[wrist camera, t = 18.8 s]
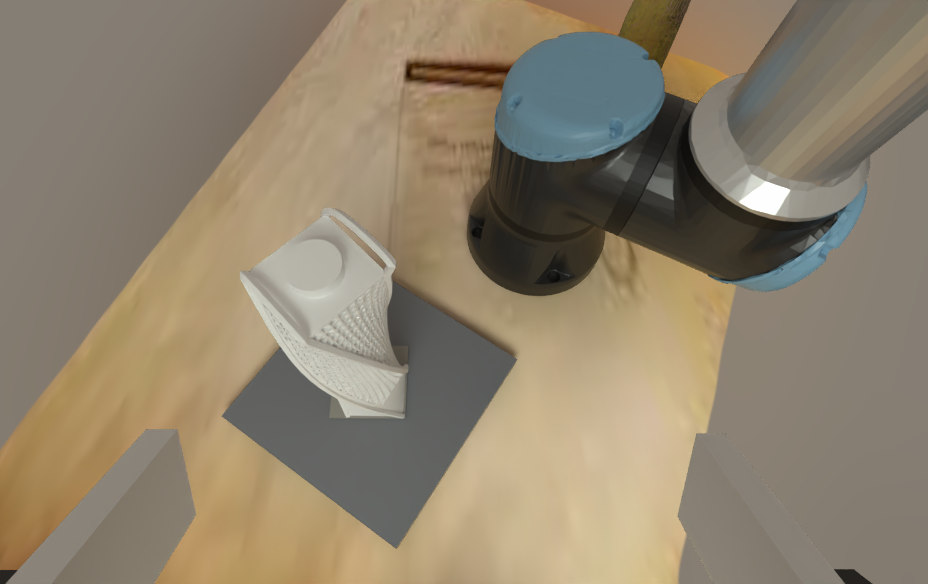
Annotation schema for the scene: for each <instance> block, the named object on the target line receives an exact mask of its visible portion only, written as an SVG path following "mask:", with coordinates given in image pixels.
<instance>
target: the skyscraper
mask: <svg viewBox="0 0 928 584" xmlns="http://www.w3.org/2000/svg"><path fill="white" fill-rule="evenodd" d="M330 216H334V217H335V218H337V219H338V220H340V221H341V222H342V223H343V224H345V225H346V226H347V227H348V228H350V229H351V230H352V231H353V232H354V233H355V234H356V235H358V236H359V237H360V238H361V239H362V240H363V241H364V242H365V243H366V244H367V245H368V246H369V247H370V248H371V249H372V250H373V251H374V252H375V253H376V254H377V255H378V256H379V257H380V258H381V259H382V260H383V261H384V262H385V263H386V267H385V269H384V270H383V269H382V268H381V267H380V266H379V265H378V264H377V263H376V262H375V261H374V260H373V259H372V258H371V257H370V256H369V255H368V254H367V253H366V252H365V251H364V250H363V249H362V248H361V247H360V246H359V245H357V244H356V243H355V242H354V241H353V240H352V239H351V238H350V237H349V236H348V235H347V234H346V233H345V232H344V231H343V230H342V229H341V228H340V227H339V226H338V225H337V224H336V223H335V222H334V221H333V220H332V219H331V218H330ZM395 268H396V260H395V259H394V257H393V256H392V255H391V254H390V253H389V252H388V251H387V250H386V249H385V248H384V246H383V245H381V244H380V243H379V242H378V241H377V240H376V239H375V238H374V237H373V236H372V235H371V234H370V233H369V232H368V231H367V230H365V229H364V228H363V227H362V226H361V225H360V224H358V223H357V222H356V221H355V220H354V219H352V218H351V217H350V216H348V215H347V214H346V213H344V212H342V211H341V210H338V209H335V208H328V207H327V208H324V209H323V210H322V213H321V217H320V218H319V219H318V220H317V221H315V222H314V223H313V224H311V225H310V226H309V227H307V228H306V229H305V230H303V231H302V232H301V233H299V234H298V235H296V236H295V237H294V238H292V239H291V240H290V241H288V242H287V243H286V244H284V245H283V246H282V247H280V248H279V249H278V250H276V251H275V252H274V253H272V254H271V255H270V256H268V257H267V258H266V259H264V260H263V261H262V262H260V263H259V264H258V265H256V266H255V267H254V268H252V269H251V270H250V271H240V279H241V281H242V283H243V285H244V286H245V288H246V290H247V292H248V294H249V296H250V297H251V299H252V301H253V303H254V304H255V306H256V308H257V310H258V311H259V313H260V315H261V317H262V318H263V320H264V322H265V324H266V325H267V327H268V329H269V330H270V332H271V333H272V335H273V336H274V338H275V339H276V341H277V343H278V344H279V346H280V347H281V348H282V350H283V351H284V352H285V354H286V355H287V357H288V358H289V359H290V360H291V362H292V363H293V364H294V365H295V366H296V367H297V369H298V370H299V371H300V372H301V373H302V374H303V375H304V376H305V377H307V378H308V379H309V380H310V381H311V382H312V383H314V384H315V385H316V386H317V387H319V388H320V389H321V390H323V391H325V392H326V393H328V394H329V395H331V404H330V413H329V418H350V419H405V415H406V393H407V373H408V348H409V347H408V346H391V342H390V338H389V332H388V323H387V307H388V305H389V302H390V299H391V295H392V284H393V282H392V273H393V272H394V270H395Z"/></svg>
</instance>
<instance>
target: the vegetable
mask: <svg viewBox="0 0 928 584" xmlns="http://www.w3.org/2000/svg"><path fill="white" fill-rule="evenodd" d="M690 1H691V0H634V2H633V3H632V5H631V7H630V9H629V11H628V13H627V15H626V17H625V20H624V23H623V25H622V28H621V30H620V33H619V37H622V38H625V39H628V40H630V41H632V42H634V43H636V44H638V45H639V46H641V47H642V48H644V49H645V50H646V51H647V52H648V53H649V57H648V60H655V61H656V62H657V63H658V65H659V66H660V69H661V68H662V66H663V63H664V61H665V59H666V57H667V55H668V52H669V50H670V48H671V45H672V43H673V41H674V39H675V36H676V34H677V32H678V30H679V27H680V25H681V23H682V20H683V17H684V15H685V13H686V11H687V9H688V6H689V3H690Z"/></svg>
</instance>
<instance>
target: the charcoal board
mask: <svg viewBox="0 0 928 584" xmlns="http://www.w3.org/2000/svg"><path fill="white" fill-rule="evenodd" d="M392 282H393V284H392V295H391V299H390V302H389V305H388V307H387V323H388V332H389V338H390V342H391V346H408V347H409V348H408V373H407V393H406V415H405V419H350V418H329V413H330V404H331V395H329V394H328V393H326V392H325V391H323V390H321V389H320V388H319V387H317V386H316V385H315V384H314V383H312V382H311V381H310V380H309V379H308V378H307V377H305V376H304V375H303V374H302V373H301V372H300V371H299V370H298V369H297V367H296V366H295V365H294V364H293V363H292V362H291V360H290V359H289V358H288V357H287V355H286V354H285V352H284V351H283V350H282V348H281V347H280V348H279V349H278V350H277V352H276V353H275V354H274V355H273V356H272V357H271V359H270V360H269V361H268V362H267V363H266V365H265V366H264V367H263V368H262V369H261V370H260V372H259V373H258V374H257V375H256V376H255V377H254V379H253V380H252V381H251V382H250V383H249V384H248V386H247V387H246V388H245V389H244V390H243V391H242V393H241V394H240V395H239V396H238V397H237V398H236V400H235V401H234V402H233V403H232V404H231V405H230V407H229V408H228V409H227V410H226V411H225V412H224V414H223V415H222V417H223V418H225V419H226V420H227V421H229V422H230V423H231V424H233V425H234V426H235V427H237V428H238V429H239V430H241V431H242V432H243V433H245V434H246V435H247V436H248V437H250V438H251V439H252V440H254V441H255V442H256V443H258V444H259V445H260V446H262V447H263V448H264V449H266V450H267V451H268V452H270V453H271V454H272V455H273V456H275V457H276V458H277V459H279V460H280V461H281V462H283V463H284V464H285V465H287V466H288V467H289V468H291V469H292V470H293V471H295V472H296V473H297V474H298V475H300V476H301V477H302V478H304V479H305V480H306V481H308V482H309V483H310V484H312V485H313V486H314V487H316V488H317V489H318V490H320V491H321V492H322V493H323V494H325V495H326V496H327V497H329V498H330V499H331V500H333V501H334V502H335V503H337V504H338V505H339V506H341V507H342V508H343V509H345V510H346V511H347V512H348V513H350V514H351V515H352V516H354V517H355V518H356V519H358V520H359V521H360V522H362V523H363V524H364V525H366V526H367V527H368V528H370V529H371V530H372V531H373V532H375V533H376V534H377V535H379V536H380V537H381V538H383V539H384V540H385V541H387V542H388V543H389V544H391V545H392V546H393V547H395V548H398V546H399V545H400V543H401V542H402V540H403V539H404V537H405V535H406V534H407V532H408V531H409V529H410V528H411V526H412V525H413V523H414V521H415V520H416V518H417V517H418V515H419V514H420V512H421V510H422V509H423V507H424V506H425V504H426V503H427V501H428V499H429V498H430V496H431V495H432V493H433V492H434V490H435V488H436V487H437V485H438V484H439V482H440V481H441V479H442V477H443V476H444V474H445V473H446V471H447V470H448V468H449V467H450V465H451V463H452V462H453V460H454V459H455V457H456V456H457V454H458V452H459V451H460V449H461V448H462V446H463V445H464V443H465V441H466V440H467V438H468V437H469V435H470V434H471V432H472V430H473V429H474V427H475V426H476V424H477V423H478V421H479V419H480V418H481V416H482V415H483V413H484V412H485V410H486V409H487V407H488V405H489V404H490V402H491V401H492V399H493V398H494V396H495V394H496V393H497V391H498V390H499V388H500V387H501V385H502V383H503V382H504V380H505V379H506V377H507V376H508V374H509V372H510V371H511V369H512V368H513V366H514V365H515V363H516V361H517V359H516V358H514V357H513V356H511V355H509V354H508V353H506V352H505V351H503V350H502V349H500V348H498V347H497V346H495V345H494V344H492V343H490V342H489V341H487V340H486V339H484V338H483V337H481V336H479V335H478V334H476V333H475V332H473V331H471V330H470V329H468V328H467V327H465V326H464V325H462V324H460V323H459V322H457V321H456V320H454V319H453V318H451V317H449V316H448V315H446V314H445V313H443V312H441V311H440V310H438V309H437V308H435V307H434V306H432V305H430V304H429V303H427V302H426V301H424V300H422V299H421V298H419V297H418V296H416V295H415V294H413V293H411V292H410V291H408V290H407V289H405V288H403V287H402V286H400V285H399V284H397V283H396V282H394V281H392Z"/></svg>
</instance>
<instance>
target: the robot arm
mask: <svg viewBox="0 0 928 584" xmlns="http://www.w3.org/2000/svg"><path fill="white" fill-rule="evenodd" d="M648 57H649V53H648V52H647V51H646V50H645V49H644V48H642V47H641V46H639V45H638V44H636V43H634V42H632V41H630V40H628V39H625V38H622V37H619V36H616V35H612V34H607V33H600V32H575V33H569V34H563V35H560V36H559V37H558V38H555V39H550V40H545V41H543V42H541V43H539V44H537V45H535V46H533V47H532V48H530V49H529V50H528V51H526V52H525V53H524V54H523V55H522V56H521V57H520V58H519V59H518V60H517V61H516V62H515V63H514V65H513V66H512V68H511V69H510V71H509V72H508V74H507V77H506V79H505V82H504V85H503V89H502V95H501V100H500V102H499V104H498V107H497V109H496V115H495V135H494V144H493V152H492V161H491V169H490V178H489V180H488V181H487V182H486V184H485V185H484V186H483V188H482V189H481V190H480V192H479V193H478V195H477V196H476V198H475V199H474V201H473V204H472V206H471V209H470V212H469V217H468V226H467V240H468V245H469V249H470V252H471V254H472V257H473V259H474V260H475V262H476V264H477V265H478V267H479V268H480V269H481V270H482V271H483V273H484V274H485V275H486V276H488V277H489V278H490V279H491V280H492V281H494V282H495V283H497V284H498V285H500V286H502V287H504V288H506V289H508V290H510V291H513V292H516V293H520V294H524V295H532V296H546V295H553V294H557V293H560V292H563V291H566V290H568V289H570V288H572V287H574V286H576V285H577V284H578V283H580V282H581V281H582V280H583V279H584V278H585V277H586V276H587V275H588V274H589V273H590V272H591V270H592V269H593V267H594V265H595V264H596V262H597V260H598V258H599V256H600V254H601V252H602V249H603V245H604V240H605V231H608V232H610V233H613V234H615V235H617V236H619V237H622V238H624V239H626V240H629V241H631V242H633V243H636V244H638V245H640V246H643V247H645V248H648V249H650V250H652V251H655V252H657V253H659V254H662V255H664V256H666V257H669V258H671V259H674V260H676V261H678V262H680V263H683V264H685V265H687V266H689V267H692V268H694V269H696V270H698V271H701V272H703V273H705V274H707V275H708V276H709V277H711V278H713V279H715V280H717V281H720V282H722V283H726V284H728V283H732V284H734V285H737V286H740V287H743V288H745V289H748V290H752V291H759V292H767V291H774V290H779V289H782V288H785V287H788V286H790V285H792V284H794V283H796V282H798V281H800V280H802V279H803V278H805V277H806V276H808V275H809V274H811V273H812V272H813V271H815V270H816V269H817V268H818V267H819V266H820V265H822V264H823V263H824V262H825V261H826V256H827V254H828V252H829V251H830V250H831V249H833V248H835V249H836V248H838V247H839V246H840V245H841V244H842V242H843V241H844V240H845V239H846V237H847V236H848V234H849V233H850V232H851V230H852V229H853V227H854V225H855V223H856V221H857V220H858V218H859V216H860V214H861V211H862V209H863V206H864V203H865V198H866V194H867V181H866V180H867V178H868V174H869V169H870V155H871V154H872V153H873V152H875V151H876V150H877V149H878V148H880V147H881V146H882V145H884V144H885V143H886V142H887V141H889V140H890V139H891V138H892V137H894V136H895V135H896V134H898V133H899V132H900V131H901V130H903V129H904V128H905V127H906V126H908V125H909V124H910V123H911V122H913V121H914V120H915V119H916V118H918V117H919V116H920V115H921V114H923V113H924V112H925V111H927V110H928V0H797V1H796V3H795V4H794V5H793V7H792V8H791V10H790V11H789V13H788V14H787V15H786V17H785V18H784V20H783V21H782V23H781V24H780V26H779V27H778V28H777V30H776V31H775V33H774V34H773V35H772V37H771V38H770V40H769V41H768V43H767V44H766V45H765V47H764V49H763V50H762V51H761V53H760V54H759V55H758V57H757V58H756V60H755V61H754V63H753V64H752V65H751V67H750V68H749V70H748V71H747V73H743V74H739V75H735V76H732V77H729V78H727V79H725V80H723V81H721V82H719V83H717V84H716V85H714V86H713V87H712V88H710V89H709V90H708V91H707V92H706V94H705V95H704V96H703V97H702V98H701V99H700V101H699V102H698V103H697V104H696V103H693V102H691V101H688V100H685V99H682V98H680V97H677V96H674V95H672V94H669V93H666V92H664V77H663V74H662V71H661V69H660V66H659V65H658V63H657V62H656V61H655V60H648ZM195 516H196V511H195V507H194V502H193V498H192V493H191V489H190V484H189V480H188V475H187V470H186V466H185V461H184V457H183V452H182V448H181V443H180V439H179V434H178V430H177V429H146V430H145V431H144V432H143V433H142V435H141V436H140V437H139V438H138V439H137V440H136V441H135V442H134V443H133V444H132V446H131V447H130V448H129V449H128V450H127V451H126V452H125V453H124V454H123V455H122V456H121V458H120V459H119V460H118V461H117V462H116V463H115V464H114V465H113V466H112V467H111V469H110V470H109V471H108V472H107V473H106V474H105V475H104V476H103V477H102V478H101V480H100V481H99V482H98V483H97V484H96V485H95V486H94V487H93V488H92V489H91V491H90V492H89V493H88V494H87V495H86V496H85V497H84V498H83V499H82V500H81V501H80V503H79V504H78V505H77V506H76V507H75V508H74V509H73V510H72V511H71V512H70V514H69V515H68V516H67V517H66V518H65V519H64V520H63V521H62V522H61V523H60V525H59V526H58V527H57V528H56V529H55V530H54V531H53V532H52V533H51V534H50V536H49V537H48V538H47V539H46V540H45V541H44V542H43V543H42V544H41V545H40V546H39V548H38V549H37V550H36V551H35V552H34V553H33V554H32V555H31V556H30V557H29V559H28V560H27V561H26V562H25V563H24V564H23V565H22V566H21V567H20V568H19V570H0V584H154V583H155V581H156V580H157V578H158V576H159V575H160V573H161V571H162V570H163V568H164V566H165V565H166V563H167V562H168V560H169V558H170V557H171V555H172V553H173V552H174V550H175V548H176V547H177V545H178V543H179V542H180V540H181V539H182V537H183V535H184V534H185V532H186V530H187V529H188V527H189V525H190V524H191V522H192V521H193V519H194V517H195ZM678 518H679V520H680V522H681V524H682V526H683V528H684V530H685V531H686V533H687V535H688V537H689V539H690V541H691V543H692V545H693V546H694V549H695V550H696V552H697V554H698V556H699V558H700V560H701V562H702V564H703V566H704V568H705V569H706V571H707V573H708V575H709V577H710V579H711V581H712V583H713V584H872V583H871V582H869V581H868V580H867V579H865V578H864V577H863V576H861V575H860V574H859V573H858V572H856V571H855V570H854V569H848V570H847V569H846V570H845V569H833V568H832V567H831V565H830V564H829V563H828V562H827V560H825V558H824V557H823V556H822V554H821V553H820V552H819V550H818V549H817V548H816V547H815V545H814V544H813V543H812V542H811V540H810V539H809V538H808V536H807V535H806V534H805V533H804V531H803V530H802V529H801V528H800V526H799V525H798V524H797V523H796V521H795V520H794V519H793V518H792V516H791V515H790V514H789V513H788V511H787V510H786V509H785V508H784V506H783V505H782V504H781V503H780V501H779V500H778V499H777V497H776V496H775V495H774V494H773V492H772V491H771V490H770V489H769V487H768V486H767V485H766V484H765V482H764V481H763V480H762V479H761V477H760V476H759V475H758V474H757V472H756V471H755V470H754V468H753V467H752V466H751V465H750V463H749V462H748V461H747V460H746V458H745V457H744V456H743V455H742V453H741V452H740V451H739V450H738V448H737V447H736V446H735V445H734V443H733V442H732V441H731V439H730V438H729V437H728V436H727V434H696V438H695V442H694V447H693V451H692V455H691V460H690V464H689V468H688V473H687V477H686V481H685V486H684V490H683V494H682V499H681V503H680V508H679V512H678Z"/></svg>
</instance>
